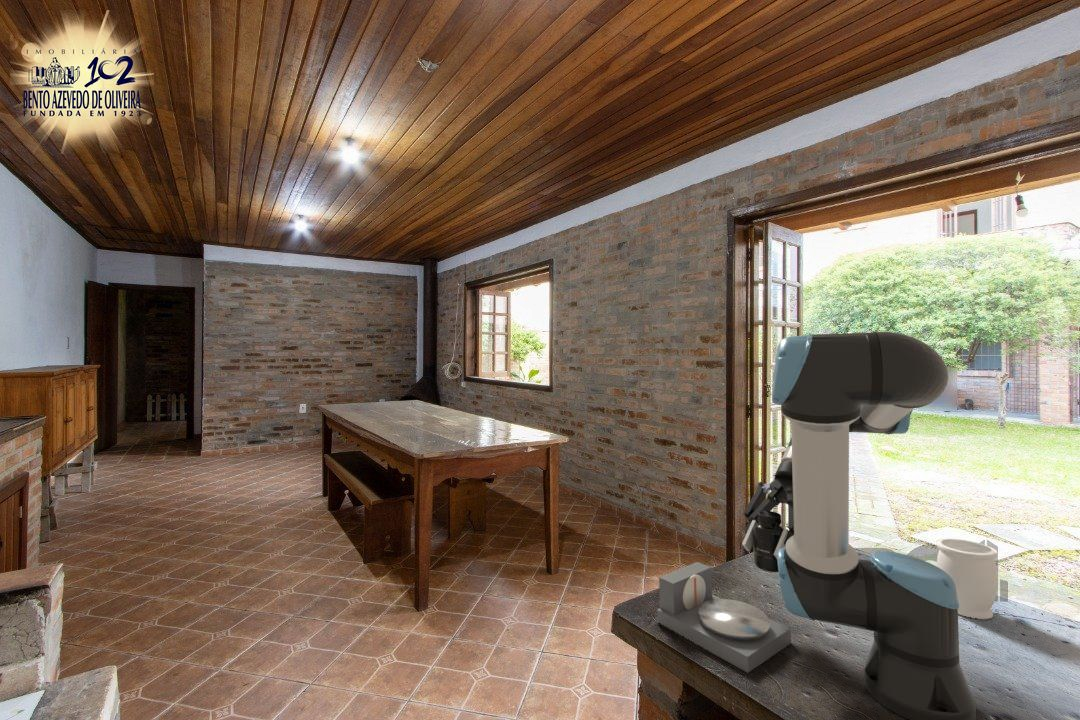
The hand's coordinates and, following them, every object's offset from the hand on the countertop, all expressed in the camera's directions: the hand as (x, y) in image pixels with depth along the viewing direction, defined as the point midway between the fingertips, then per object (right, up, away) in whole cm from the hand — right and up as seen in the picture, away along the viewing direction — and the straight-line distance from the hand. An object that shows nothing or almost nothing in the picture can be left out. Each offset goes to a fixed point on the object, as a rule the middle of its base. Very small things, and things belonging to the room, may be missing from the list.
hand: (761, 552), depth 104 cm
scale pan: (-8, -13, -4) cm, 16 cm away
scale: (-10, -17, -2) cm, 19 cm away
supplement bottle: (+3, -4, +2) cm, 6 cm away
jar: (+50, -16, +5) cm, 53 cm away
